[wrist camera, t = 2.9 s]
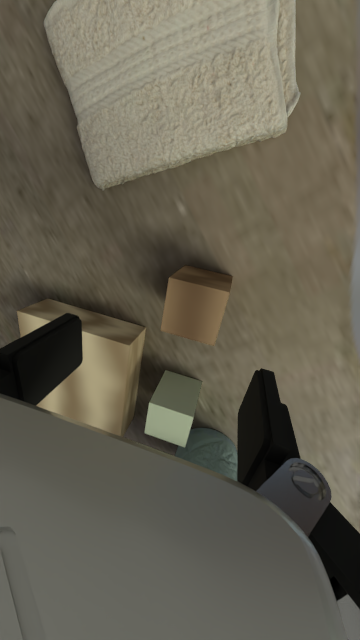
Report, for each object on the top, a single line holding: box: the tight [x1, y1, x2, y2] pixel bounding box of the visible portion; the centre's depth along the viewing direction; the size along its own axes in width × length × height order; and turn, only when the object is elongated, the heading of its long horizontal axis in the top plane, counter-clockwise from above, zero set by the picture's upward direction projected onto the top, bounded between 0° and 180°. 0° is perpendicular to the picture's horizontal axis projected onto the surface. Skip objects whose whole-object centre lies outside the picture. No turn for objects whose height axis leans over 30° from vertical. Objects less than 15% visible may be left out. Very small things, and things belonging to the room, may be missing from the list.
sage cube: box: [145, 370, 202, 447], centre depth 27 cm, size 5×5×6 cm
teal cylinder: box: [175, 428, 237, 481], centre depth 28 cm, size 10×10×12 cm
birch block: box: [17, 299, 146, 437], centre depth 30 cm, size 14×16×5 cm
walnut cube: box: [160, 265, 233, 346], centre depth 21 cm, size 5×5×6 cm
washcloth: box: [44, 0, 301, 191], centre depth 17 cm, size 12×18×3 cm, turn 103°
